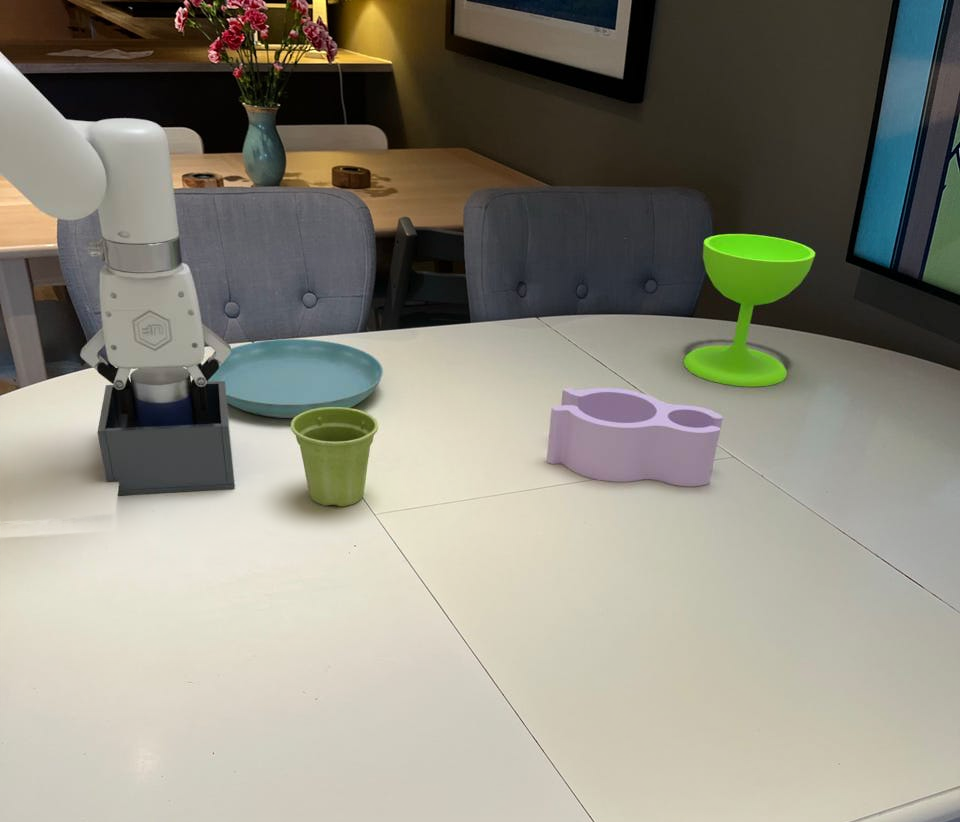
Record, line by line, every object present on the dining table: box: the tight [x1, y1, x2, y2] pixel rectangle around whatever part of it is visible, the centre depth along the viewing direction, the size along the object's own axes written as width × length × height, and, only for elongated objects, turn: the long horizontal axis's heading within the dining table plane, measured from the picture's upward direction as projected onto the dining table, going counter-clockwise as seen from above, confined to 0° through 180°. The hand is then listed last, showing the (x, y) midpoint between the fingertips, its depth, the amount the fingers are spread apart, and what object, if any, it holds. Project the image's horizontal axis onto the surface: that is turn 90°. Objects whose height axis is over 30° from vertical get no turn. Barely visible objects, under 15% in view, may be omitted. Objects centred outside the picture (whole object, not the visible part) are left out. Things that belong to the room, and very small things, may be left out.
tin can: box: [129, 367, 197, 427], centre depth 112 cm, size 6×6×10 cm
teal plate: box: [208, 338, 384, 419], centre depth 136 cm, size 24×24×3 cm
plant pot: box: [290, 407, 379, 507], centre depth 110 cm, size 9×9×9 cm
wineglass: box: [682, 233, 816, 388], centre depth 149 cm, size 16×16×18 cm
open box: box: [97, 381, 236, 496], centre depth 114 cm, size 14×14×8 cm
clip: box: [546, 387, 724, 488], centre depth 121 cm, size 20×12×7 cm, turn 74°
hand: (166, 416), depth 112 cm, fingers closed on tin can, 6 cm apart
